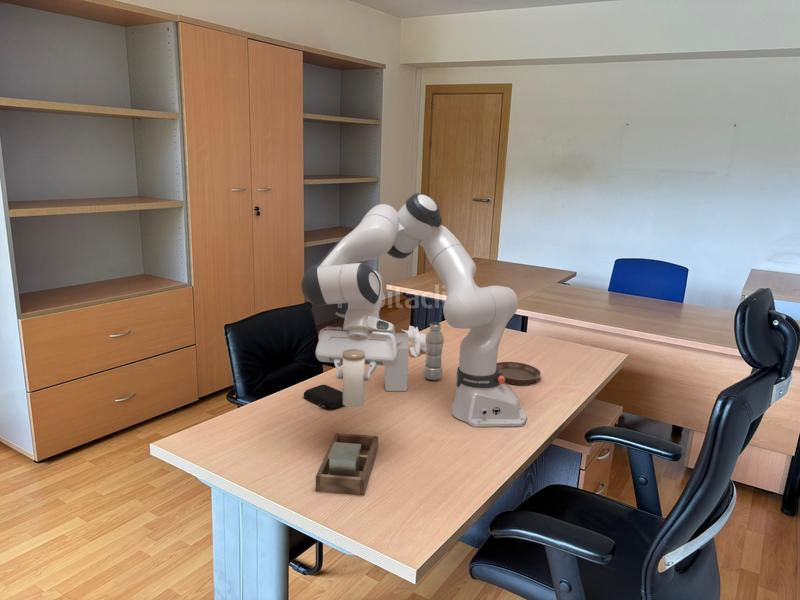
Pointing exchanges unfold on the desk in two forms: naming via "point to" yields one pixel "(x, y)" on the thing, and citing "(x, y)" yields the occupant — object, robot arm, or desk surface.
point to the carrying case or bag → (325, 396)
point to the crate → (345, 482)
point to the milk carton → (398, 366)
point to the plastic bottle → (434, 352)
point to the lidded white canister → (353, 377)
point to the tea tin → (344, 459)
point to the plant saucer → (518, 372)
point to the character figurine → (416, 340)
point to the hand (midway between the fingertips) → (353, 379)
